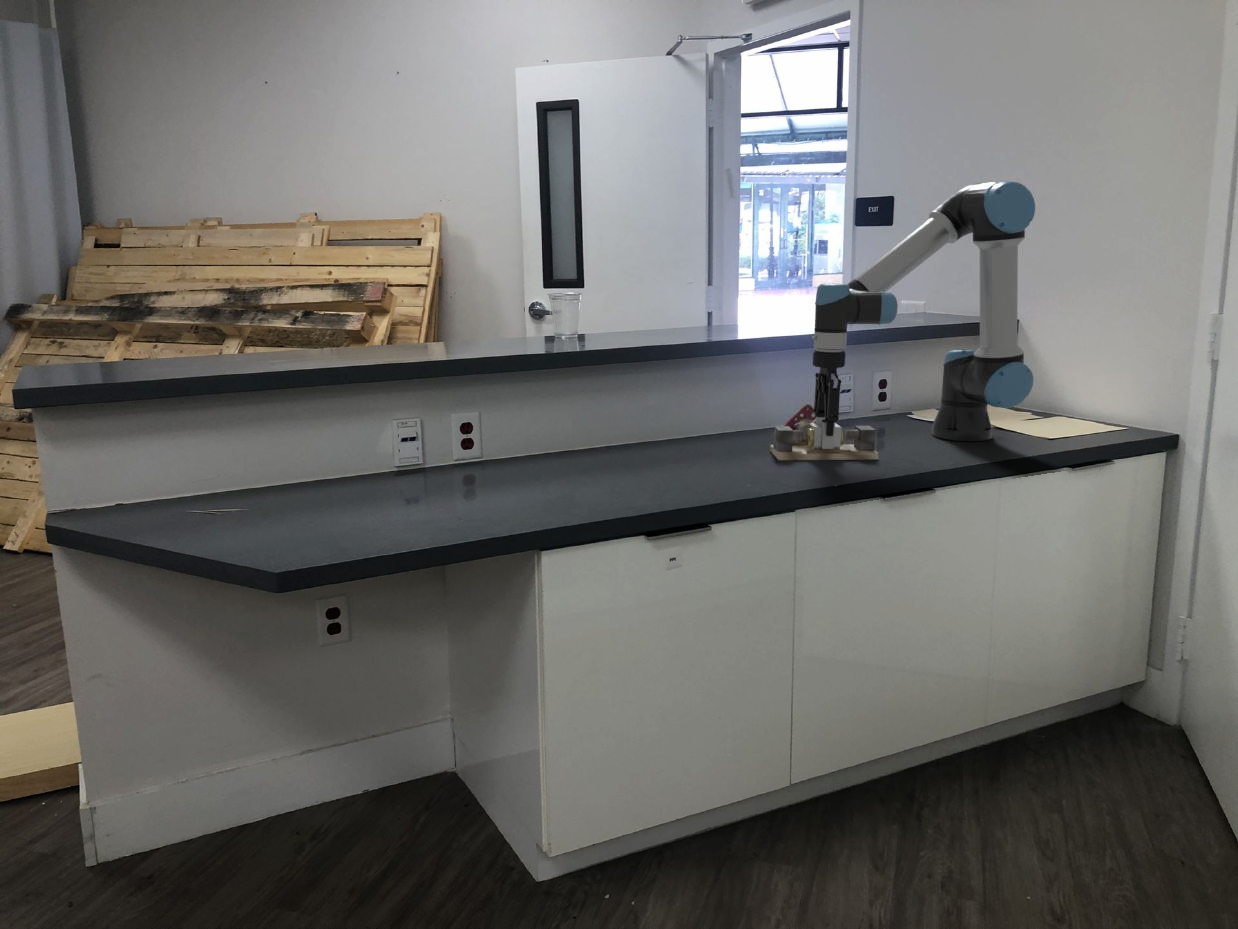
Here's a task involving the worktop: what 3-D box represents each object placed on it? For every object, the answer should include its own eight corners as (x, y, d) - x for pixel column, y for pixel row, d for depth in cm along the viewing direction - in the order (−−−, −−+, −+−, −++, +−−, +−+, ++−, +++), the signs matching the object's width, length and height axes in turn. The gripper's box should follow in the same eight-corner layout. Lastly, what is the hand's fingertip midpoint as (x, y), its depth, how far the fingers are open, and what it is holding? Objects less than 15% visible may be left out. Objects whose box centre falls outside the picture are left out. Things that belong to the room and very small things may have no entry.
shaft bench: (865, 450, 240) (867, 423, 239) (878, 459, 231) (880, 431, 229) (769, 450, 239) (771, 424, 237) (778, 460, 229) (780, 432, 228)
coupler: (810, 451, 231) (811, 427, 230) (805, 447, 236) (806, 423, 235) (843, 451, 232) (844, 427, 230) (837, 447, 237) (838, 423, 235)
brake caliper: (824, 432, 250) (830, 401, 240) (829, 465, 243) (835, 434, 233) (780, 432, 250) (784, 401, 241) (783, 465, 243) (788, 434, 234)
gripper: (804, 345, 237) (799, 438, 242) (824, 354, 219) (818, 454, 224) (834, 346, 238) (828, 438, 243) (856, 354, 220) (850, 454, 225)
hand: (824, 445), depth 234 cm, fingers open, 5 cm apart
